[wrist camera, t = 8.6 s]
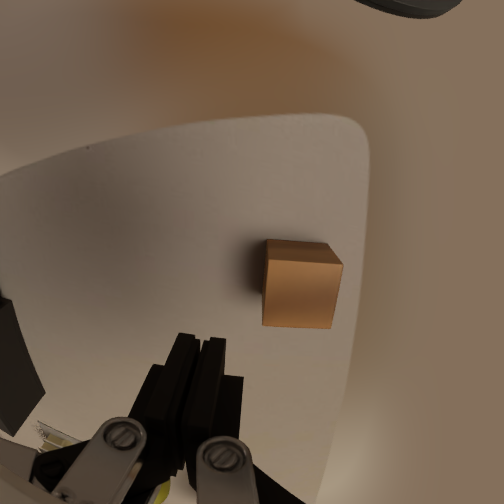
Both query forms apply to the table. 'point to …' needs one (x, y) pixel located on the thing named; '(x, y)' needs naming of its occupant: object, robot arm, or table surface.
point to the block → (300, 284)
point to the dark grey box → (15, 373)
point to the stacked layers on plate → (55, 439)
